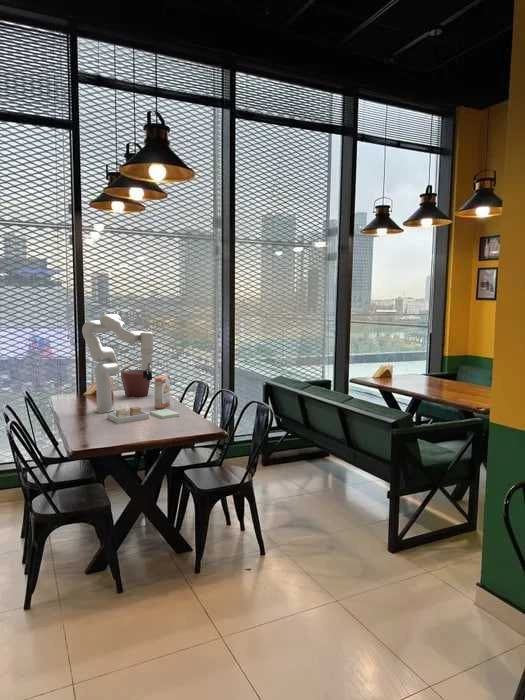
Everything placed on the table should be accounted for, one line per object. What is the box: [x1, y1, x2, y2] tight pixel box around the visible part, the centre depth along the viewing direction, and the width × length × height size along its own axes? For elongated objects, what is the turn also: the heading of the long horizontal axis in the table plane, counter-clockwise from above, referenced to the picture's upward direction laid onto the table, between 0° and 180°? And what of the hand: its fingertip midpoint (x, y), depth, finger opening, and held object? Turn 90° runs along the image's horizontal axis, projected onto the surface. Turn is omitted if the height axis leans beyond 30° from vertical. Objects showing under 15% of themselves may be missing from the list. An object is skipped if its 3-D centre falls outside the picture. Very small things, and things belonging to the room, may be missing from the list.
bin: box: [107, 409, 150, 424], centre depth 305 cm, size 16×20×4 cm
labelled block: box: [129, 406, 142, 416], centre depth 307 cm, size 5×5×6 cm
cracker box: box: [153, 374, 171, 410], centre depth 339 cm, size 14×6×21 cm, turn 168°
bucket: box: [120, 362, 151, 399], centre depth 376 cm, size 24×22×25 cm
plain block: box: [115, 408, 128, 418], centre depth 302 cm, size 5×5×6 cm
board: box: [149, 408, 180, 419], centre depth 315 cm, size 16×12×2 cm
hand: (147, 379), depth 309 cm, fingers open, 9 cm apart
